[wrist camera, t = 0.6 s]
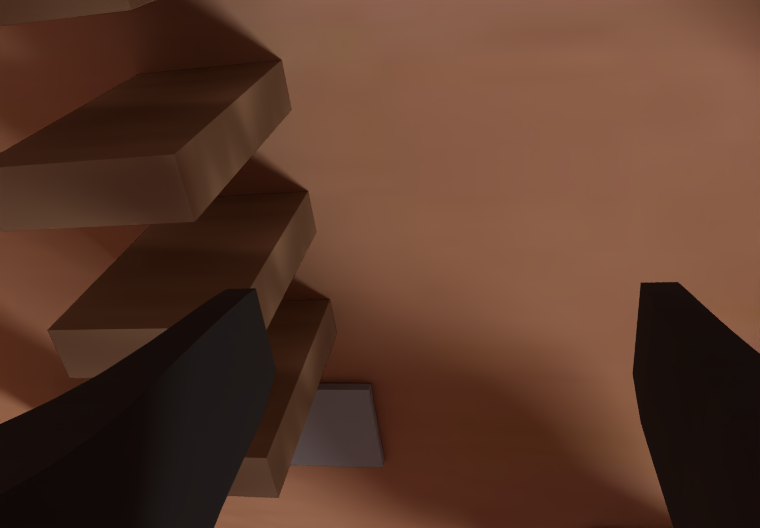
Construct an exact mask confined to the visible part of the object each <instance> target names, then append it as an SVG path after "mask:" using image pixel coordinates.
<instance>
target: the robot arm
mask: <svg viewBox="0 0 760 528" xmlns="http://www.w3.org/2000/svg"><path fill="white" fill-rule="evenodd" d="M275 372H276V367H275V363H274V359H273V355H272V351H271V347H270V343H269V339H268V335H267V331H266V327H265V323H264V319H263V315H262V311H261V307H260V303H259V299H258V295H257V291H256V288H245V289H226V290H224V291H222V292H221V293H219V294H217V295H216V296H214V297H213V298H211V299H210V300H208V301H207V302H205V303H204V304H202V305H201V306H199V307H198V308H197V309H195V310H194V311H192V312H191V313H189V314H188V315H187V316H185V317H184V318H182V319H181V320H180V321H178V322H177V323H175V324H174V325H173V326H171V327H170V328H168V329H167V330H165V331H164V332H163V333H161V334H160V335H158V336H157V337H155V338H154V339H153V340H151V341H150V342H148V343H147V344H145V345H144V346H142V347H141V348H139V349H138V350H136V351H134V352H133V353H131V354H130V355H128V356H127V357H125V358H124V359H122V360H121V361H119V362H117V363H116V364H114V365H113V366H111V367H110V368H108V369H107V370H105V371H103V372H102V373H100V374H98V375H97V376H95V377H93V378H92V379H90V380H88V381H86V382H85V383H83V384H81V385H79V386H77V387H76V388H74V389H72V390H70V391H68V392H66V393H64V394H63V395H61V396H59V397H57V398H55V399H53V400H51V401H49V402H47V403H45V404H43V405H41V406H39V407H36V408H34V409H32V410H30V411H28V412H26V413H23V414H21V415H19V416H17V417H15V418H13V419H10V420H8V421H6V422H4V423H2V424H0V528H214V526H215V524H216V521H217V519H218V516H219V514H220V511H221V509H222V506H223V504H224V502H225V500H226V498H227V495H228V493H229V491H230V489H231V486H232V484H233V482H234V480H235V478H236V475H237V473H238V471H239V469H240V466H241V464H242V462H243V460H244V458H245V455H246V453H247V451H248V449H249V447H250V444H251V442H252V440H253V437H254V435H255V433H256V431H257V428H258V426H259V424H260V421H261V419H262V417H263V414H264V411H265V408H266V405H267V401H268V398H269V395H270V391H271V387H272V383H273V380H274V376H275ZM633 379H634V385H635V391H636V397H637V403H638V409H639V415H640V420H641V425H642V428H643V431H644V435H645V438H646V441H647V444H648V448H649V451H650V454H651V457H652V461H653V464H654V467H655V470H656V473H657V477H658V480H659V483H660V486H661V489H662V493H663V496H664V499H665V502H666V505H667V509H668V512H669V515H670V518H671V521H672V524H673V528H760V353H758V352H757V351H756V350H754V349H753V348H752V347H751V346H750V345H748V344H747V343H746V342H745V341H744V340H742V339H741V338H740V337H739V336H738V335H736V334H735V333H734V332H733V331H732V330H731V329H729V328H728V327H727V326H726V325H725V324H724V323H723V322H721V321H720V320H719V319H718V318H717V317H716V316H715V315H714V314H712V313H711V312H710V311H709V310H708V309H707V308H706V307H705V306H704V305H703V304H701V303H700V302H699V301H698V300H697V299H696V298H695V297H694V296H693V295H692V294H691V293H690V292H688V291H687V290H686V289H685V288H684V287H683V286H682V285H681V284H679V283H678V282H656V283H641V287H640V298H639V309H638V320H637V332H636V343H635V354H634V365H633Z"/></svg>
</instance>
